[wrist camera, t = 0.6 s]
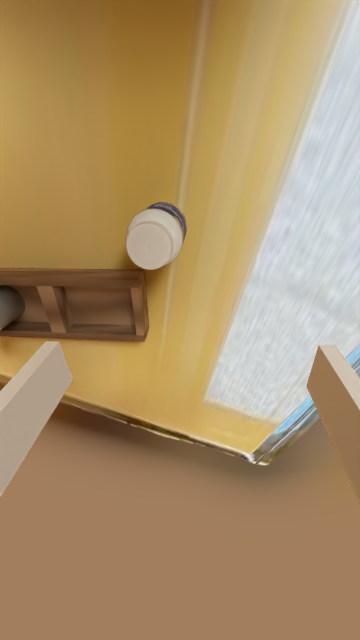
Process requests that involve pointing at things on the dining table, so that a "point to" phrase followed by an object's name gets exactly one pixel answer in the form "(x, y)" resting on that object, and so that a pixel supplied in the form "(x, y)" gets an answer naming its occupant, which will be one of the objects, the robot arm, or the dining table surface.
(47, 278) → the rack
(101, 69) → the dining table surface
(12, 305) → the grey rounded cylinder
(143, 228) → the pill bottle
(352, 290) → the dining table surface
